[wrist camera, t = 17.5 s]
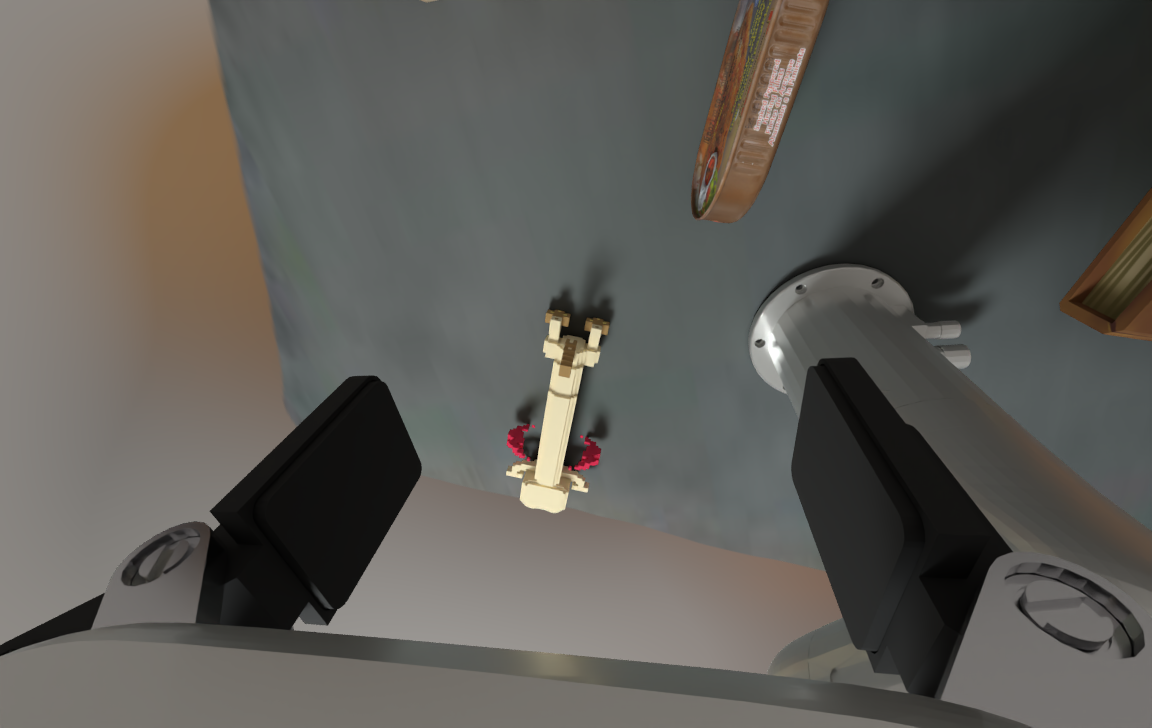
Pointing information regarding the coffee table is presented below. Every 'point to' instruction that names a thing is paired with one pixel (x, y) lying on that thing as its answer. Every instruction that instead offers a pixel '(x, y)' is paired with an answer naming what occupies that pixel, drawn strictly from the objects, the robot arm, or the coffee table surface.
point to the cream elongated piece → (558, 419)
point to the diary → (1119, 281)
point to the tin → (752, 103)
